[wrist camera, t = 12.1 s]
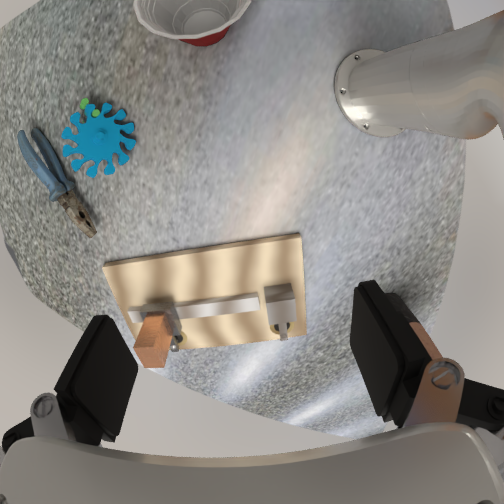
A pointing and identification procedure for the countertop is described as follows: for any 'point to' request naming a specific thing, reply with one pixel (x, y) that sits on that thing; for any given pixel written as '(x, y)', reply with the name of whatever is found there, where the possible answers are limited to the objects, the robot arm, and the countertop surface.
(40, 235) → the countertop surface
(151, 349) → the block
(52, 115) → the countertop surface
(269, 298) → the wooden slide jig
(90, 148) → the gear
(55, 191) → the pliers
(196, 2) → the plastic cup
